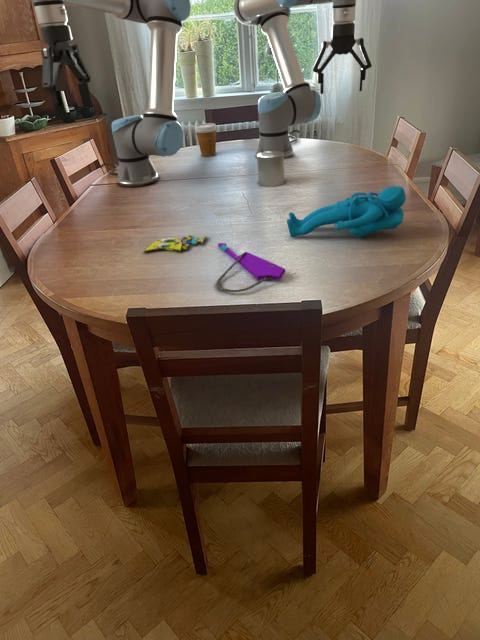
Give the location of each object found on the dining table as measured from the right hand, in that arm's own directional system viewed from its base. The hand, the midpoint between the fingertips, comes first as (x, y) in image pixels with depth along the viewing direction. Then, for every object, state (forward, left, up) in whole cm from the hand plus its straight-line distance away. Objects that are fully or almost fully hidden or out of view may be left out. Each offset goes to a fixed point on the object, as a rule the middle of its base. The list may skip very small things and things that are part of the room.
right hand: (340, 92), depth 173 cm
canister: (+22, -25, -25) cm, 42 cm away
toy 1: (+74, -49, -25) cm, 92 cm away
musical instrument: (+90, -31, -25) cm, 99 cm away
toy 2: (+71, -4, -25) cm, 75 cm away
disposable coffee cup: (-22, -54, -25) cm, 64 cm away
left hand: (+50, -79, +7) cm, 93 cm away
